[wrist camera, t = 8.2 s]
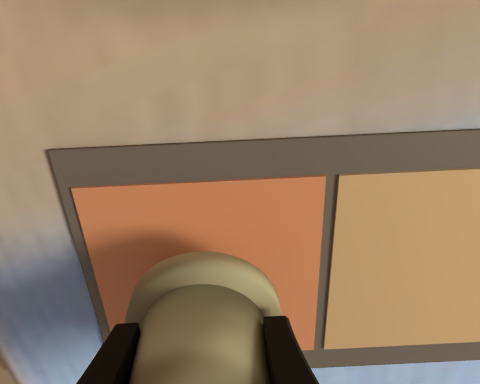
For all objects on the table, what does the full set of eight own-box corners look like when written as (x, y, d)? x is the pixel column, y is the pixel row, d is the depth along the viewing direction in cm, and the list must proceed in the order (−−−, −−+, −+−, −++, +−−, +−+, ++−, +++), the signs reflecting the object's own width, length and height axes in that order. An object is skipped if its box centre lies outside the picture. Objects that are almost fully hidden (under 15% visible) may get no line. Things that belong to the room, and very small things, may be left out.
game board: (712, 346, 17) (716, 350, 17) (114, 375, 17) (113, 380, 17) (892, 109, 12) (902, 111, 12) (49, 149, 12) (46, 152, 12)
